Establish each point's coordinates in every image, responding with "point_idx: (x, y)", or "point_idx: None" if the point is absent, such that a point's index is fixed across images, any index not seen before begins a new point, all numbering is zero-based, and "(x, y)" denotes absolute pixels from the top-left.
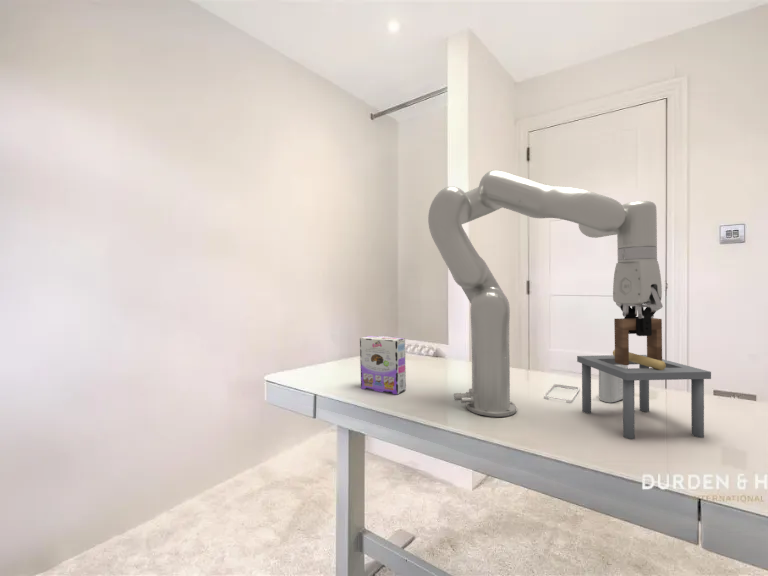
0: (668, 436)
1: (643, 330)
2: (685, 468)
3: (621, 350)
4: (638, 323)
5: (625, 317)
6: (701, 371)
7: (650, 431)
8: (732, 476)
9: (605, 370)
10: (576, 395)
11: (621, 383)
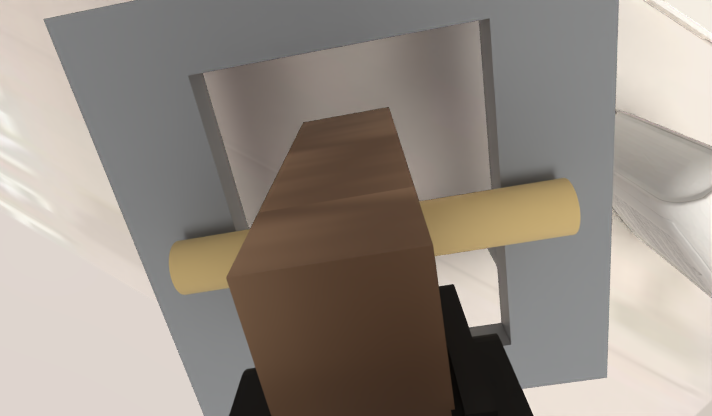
0: (256, 169)
1: (244, 374)
2: (27, 87)
3: (314, 142)
4: (249, 400)
5: (472, 407)
6: (207, 401)
7: (288, 136)
8: (24, 177)
9: None
10: (689, 29)
11: (638, 224)
